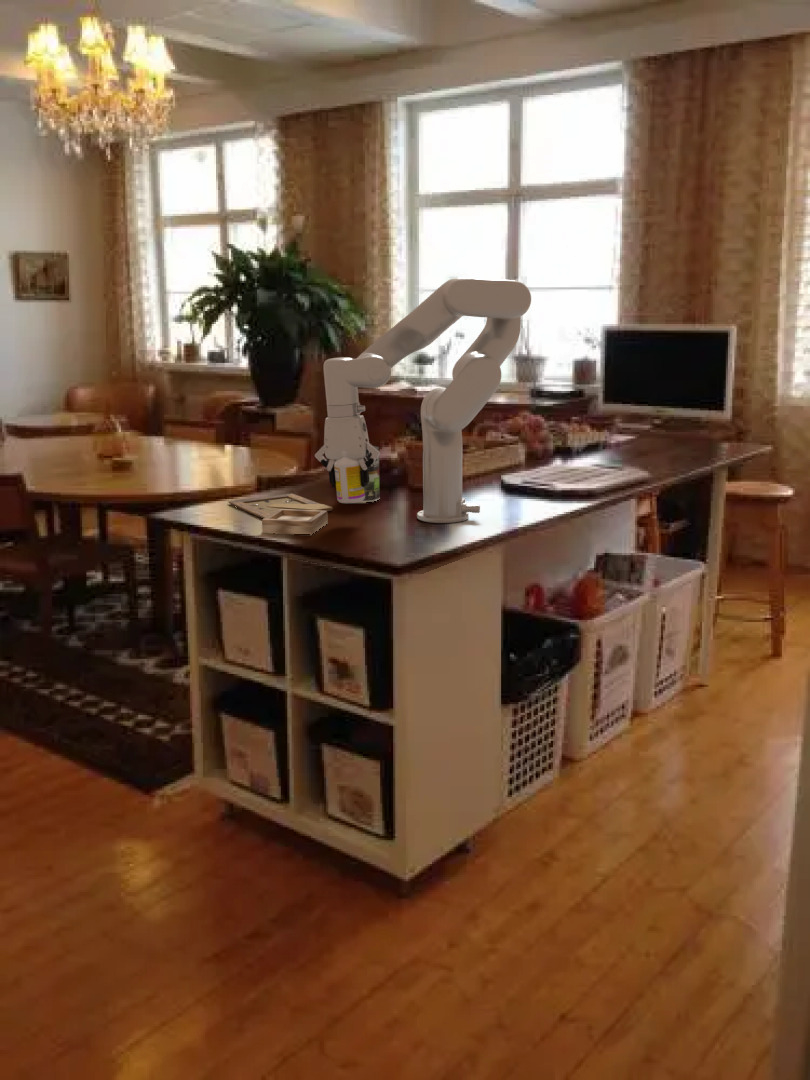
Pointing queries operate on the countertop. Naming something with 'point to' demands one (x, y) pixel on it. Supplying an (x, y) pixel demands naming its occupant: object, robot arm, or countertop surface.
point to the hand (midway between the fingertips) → (349, 485)
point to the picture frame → (276, 504)
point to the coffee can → (372, 481)
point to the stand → (294, 521)
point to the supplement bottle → (348, 480)
